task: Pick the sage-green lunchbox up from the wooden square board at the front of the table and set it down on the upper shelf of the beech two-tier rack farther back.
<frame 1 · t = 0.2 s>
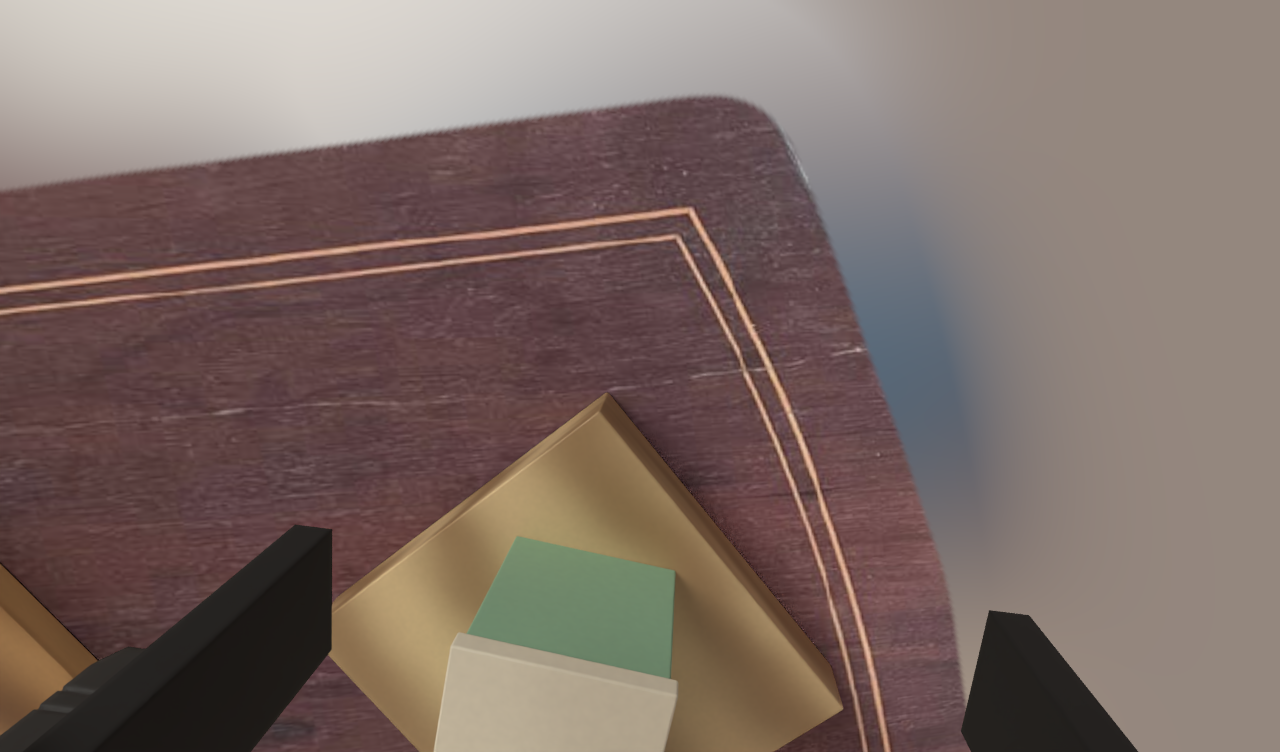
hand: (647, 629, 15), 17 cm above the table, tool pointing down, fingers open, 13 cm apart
wooden square board: (581, 630, 34), on the table
lunchbox: (571, 670, 32), point 3 cm above the table, touching wooden square board
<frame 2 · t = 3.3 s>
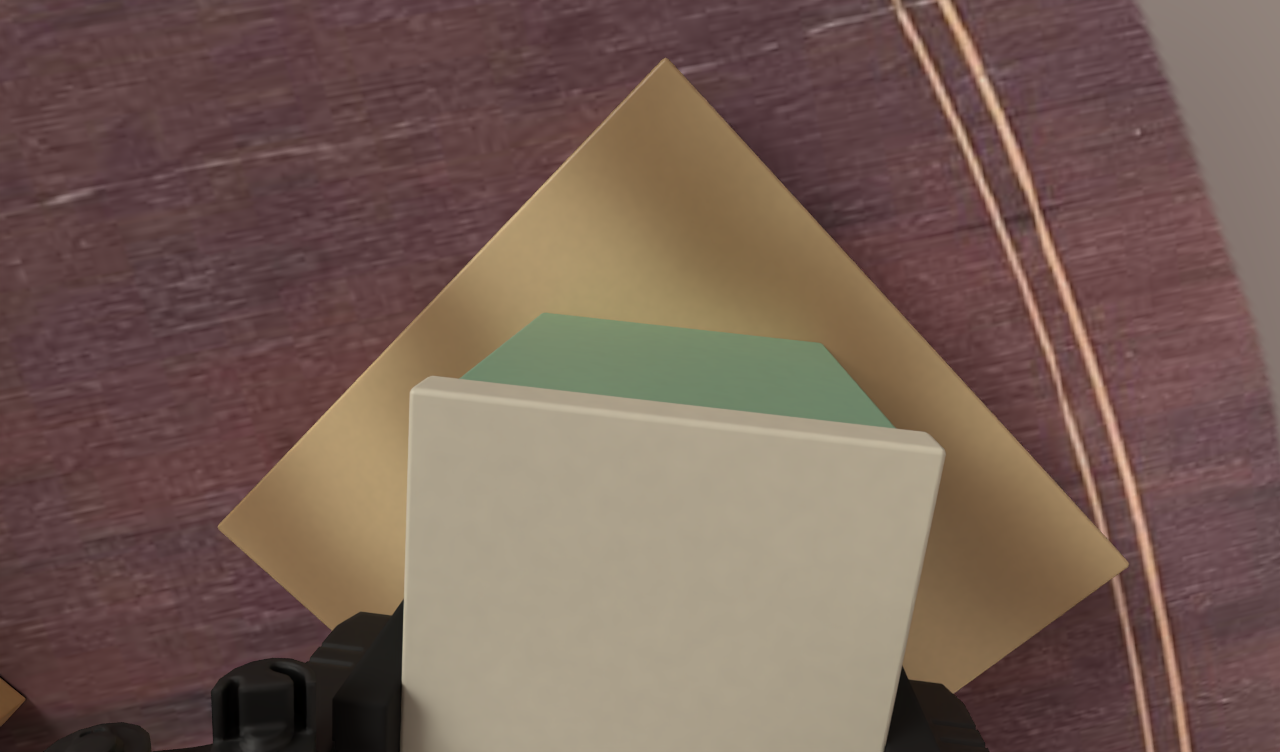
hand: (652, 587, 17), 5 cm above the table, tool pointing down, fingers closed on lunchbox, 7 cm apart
wooden square board: (661, 499, 22), on the table
lunchbox: (656, 545, 19), point 3 cm above the table, touching gripper, wooden square board
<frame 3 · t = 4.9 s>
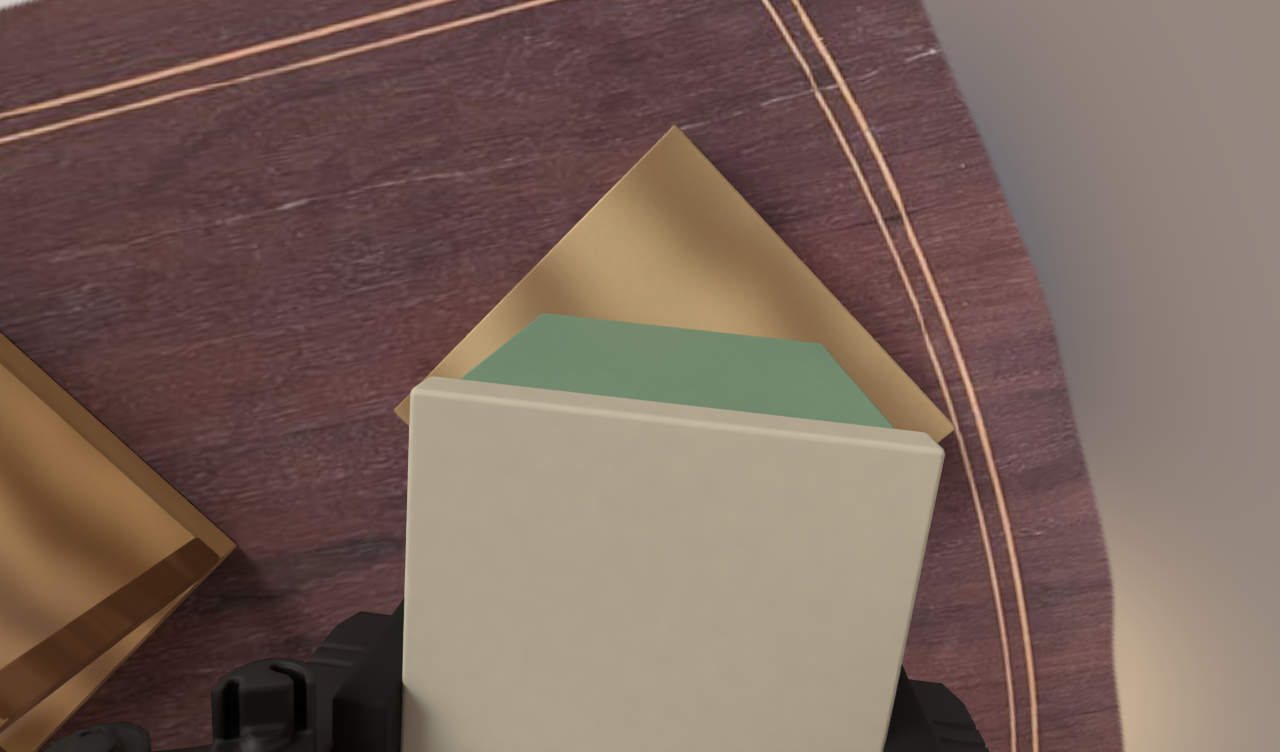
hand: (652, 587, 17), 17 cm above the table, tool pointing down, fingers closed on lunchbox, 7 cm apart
wooden square board: (670, 400, 33), on the table
lunchbox: (656, 546, 19), point 15 cm above the table, touching gripper
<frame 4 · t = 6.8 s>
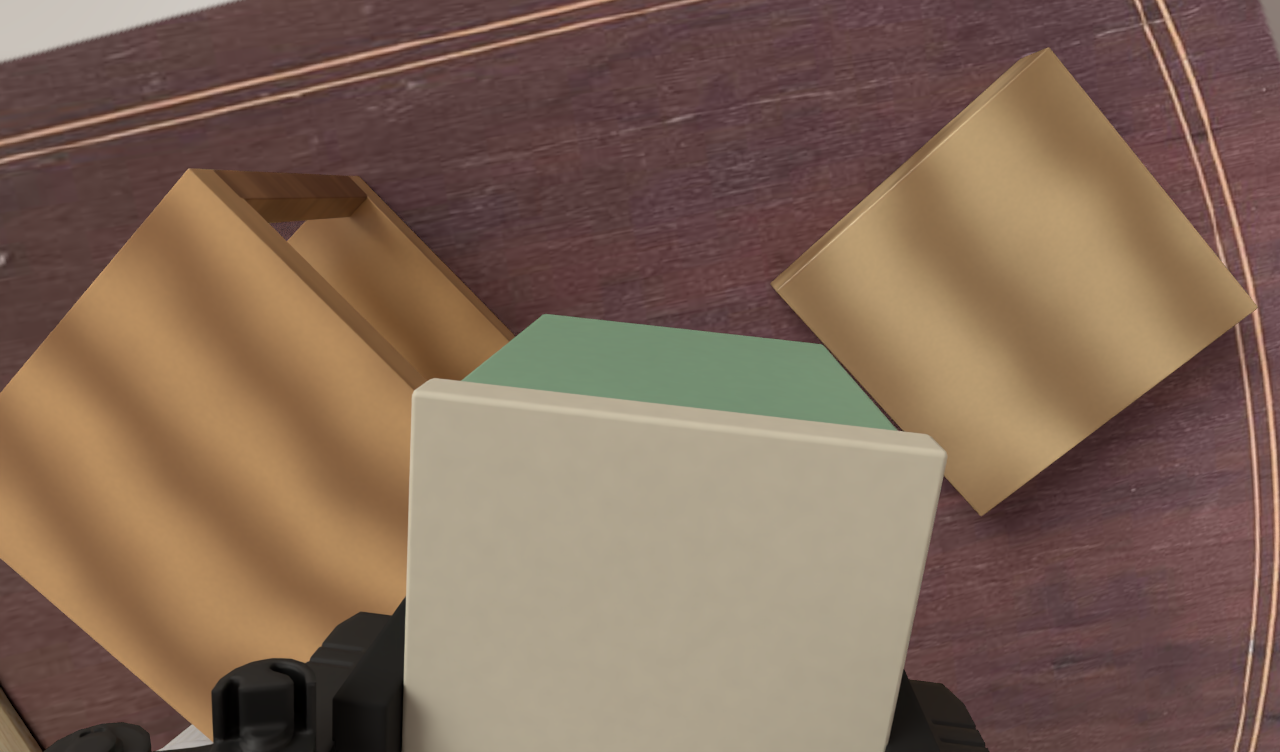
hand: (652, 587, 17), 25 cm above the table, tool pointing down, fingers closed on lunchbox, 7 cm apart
rack: (372, 406, 43), on the table
wooden square board: (989, 291, 39), on the table
lunchbox: (657, 547, 19), point 23 cm above the table, touching gripper
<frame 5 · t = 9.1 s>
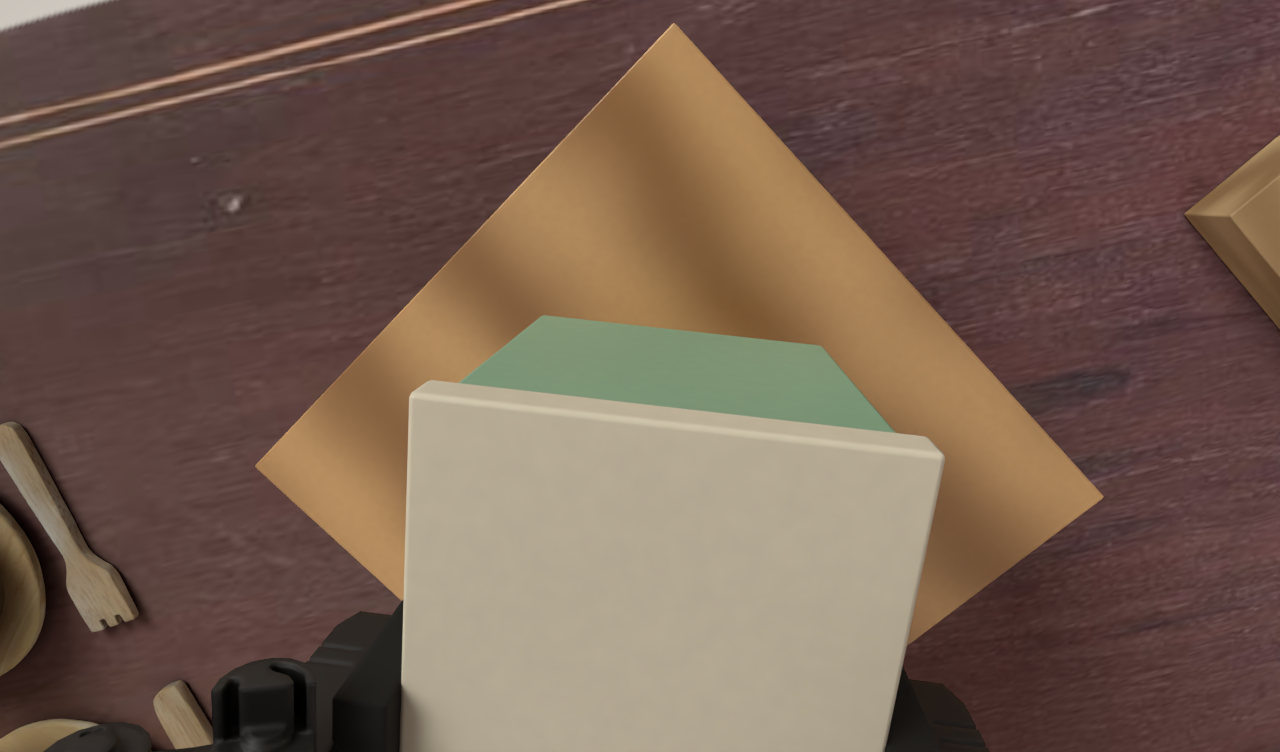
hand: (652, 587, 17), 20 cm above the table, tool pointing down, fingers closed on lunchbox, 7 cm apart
rack: (675, 373, 36), on the table
tableware set: (23, 692, 43), on the table
lunchbox: (656, 548, 19), point 18 cm above the table, touching gripper
when the fingers open (16 cm above the table, at t = 10.6 s): lunchbox stays where it is, resting on rack.
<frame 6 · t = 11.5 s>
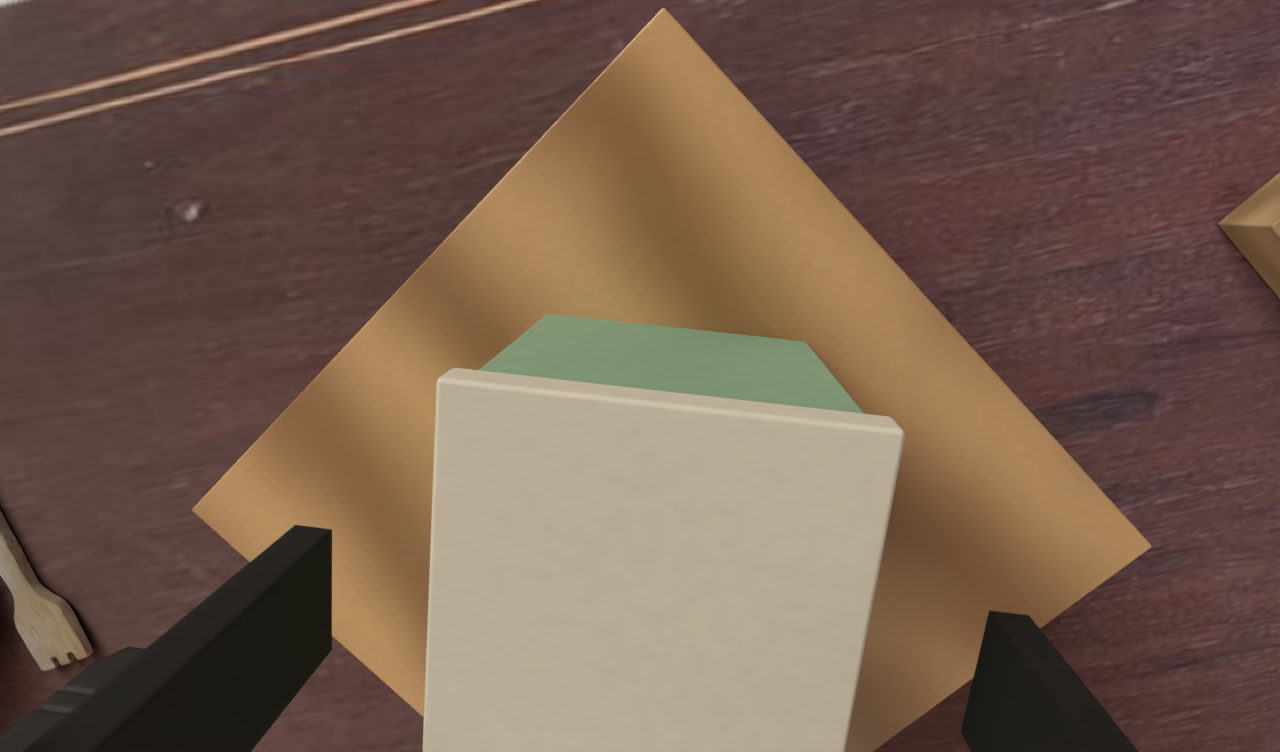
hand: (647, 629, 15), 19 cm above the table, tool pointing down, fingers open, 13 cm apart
rack: (668, 394, 34), on the table
lunchbox: (653, 530, 20), point 14 cm above the table, touching rack
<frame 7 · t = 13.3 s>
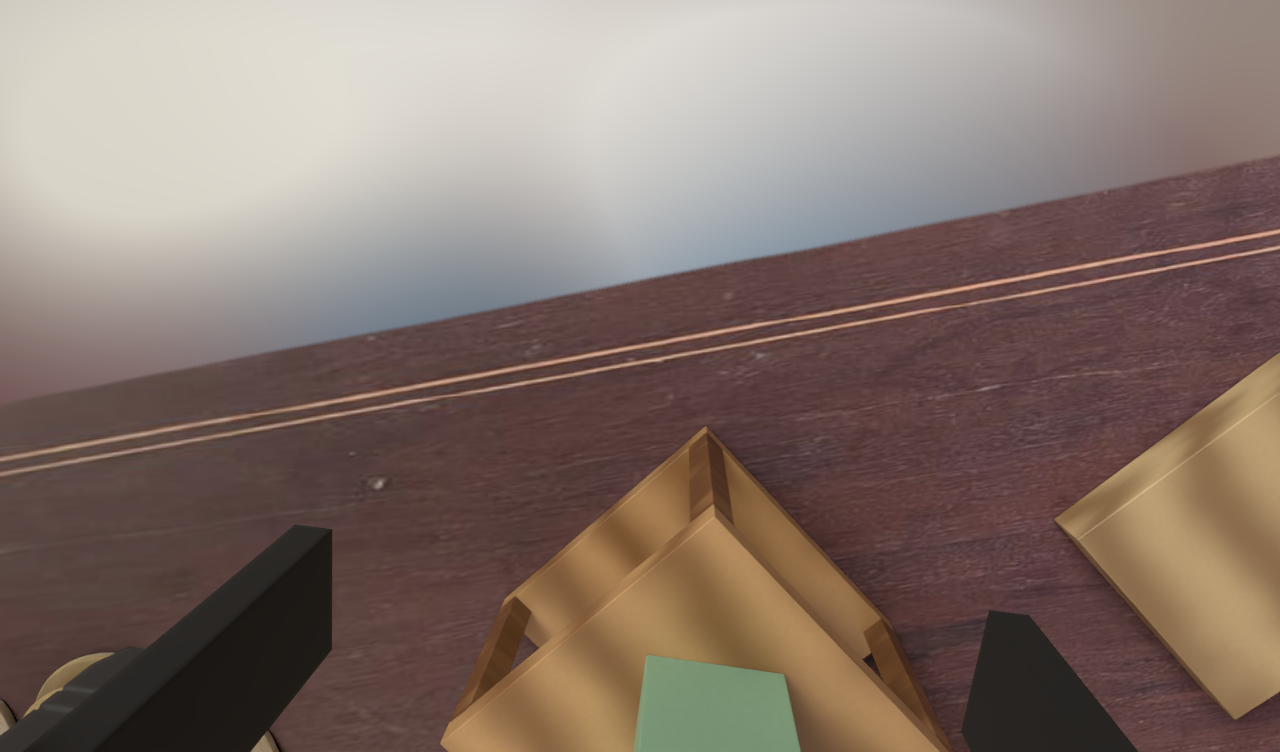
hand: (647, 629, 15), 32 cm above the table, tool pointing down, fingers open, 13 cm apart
rack: (695, 610, 50), on the table
wooden square board: (1240, 529, 47), on the table
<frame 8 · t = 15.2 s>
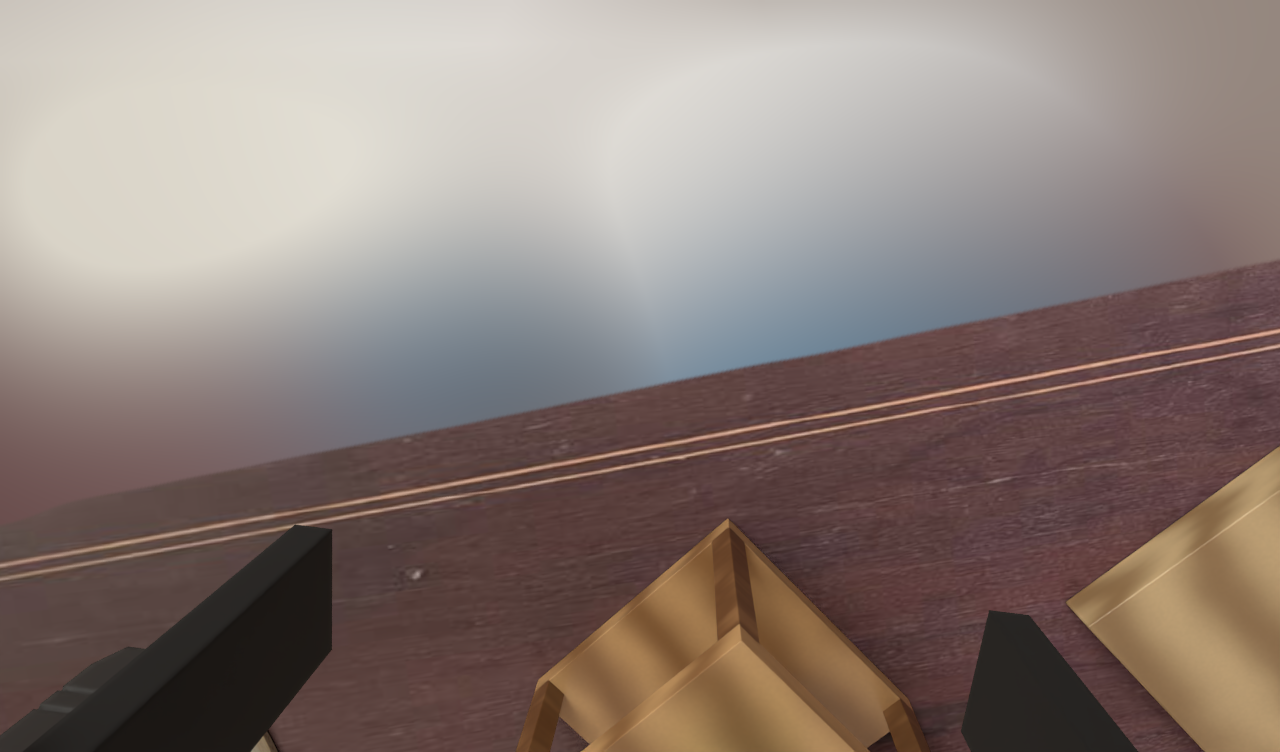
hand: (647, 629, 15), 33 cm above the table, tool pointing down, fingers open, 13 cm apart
rack: (720, 689, 52), on the table
wooden square board: (1247, 610, 49), on the table
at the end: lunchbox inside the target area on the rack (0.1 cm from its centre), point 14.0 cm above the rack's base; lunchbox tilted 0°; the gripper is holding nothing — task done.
